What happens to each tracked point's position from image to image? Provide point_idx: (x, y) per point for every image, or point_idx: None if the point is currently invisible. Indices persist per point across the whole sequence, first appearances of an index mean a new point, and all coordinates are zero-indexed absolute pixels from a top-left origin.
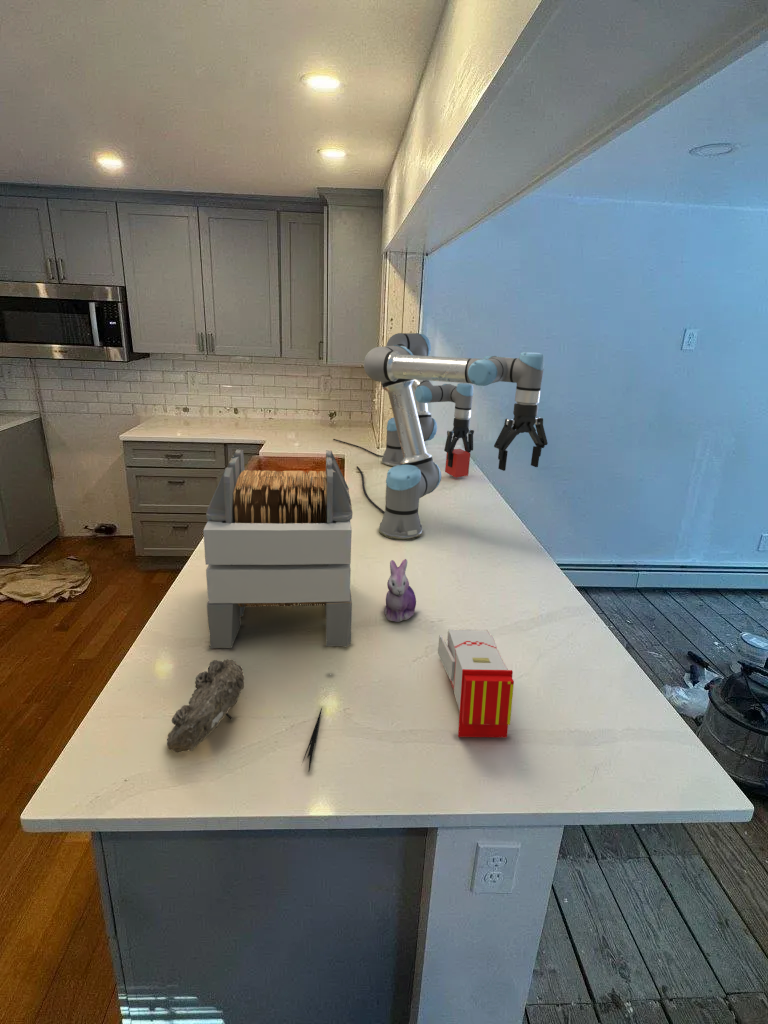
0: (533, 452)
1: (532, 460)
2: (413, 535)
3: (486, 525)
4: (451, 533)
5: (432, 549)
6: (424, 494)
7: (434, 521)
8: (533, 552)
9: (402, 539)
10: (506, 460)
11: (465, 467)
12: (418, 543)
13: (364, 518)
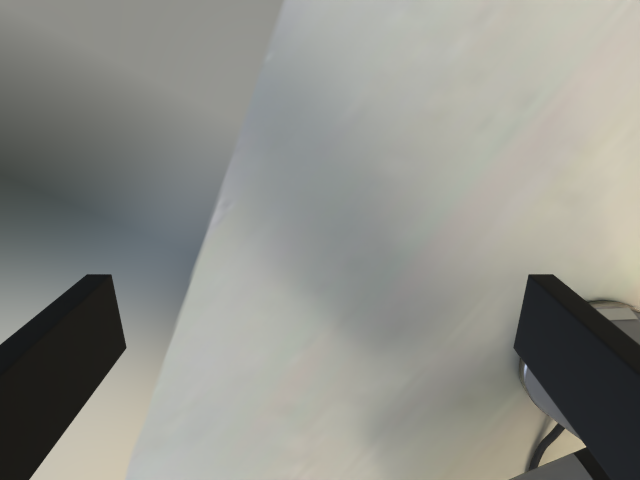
0: (31, 452)
1: (94, 369)
2: (603, 307)
3: (290, 317)
4: (446, 301)
5: (597, 215)
6: (575, 457)
7: (429, 393)
8: (285, 53)
9: (631, 307)
10: (601, 338)
11: None
12: (600, 270)
13: None
